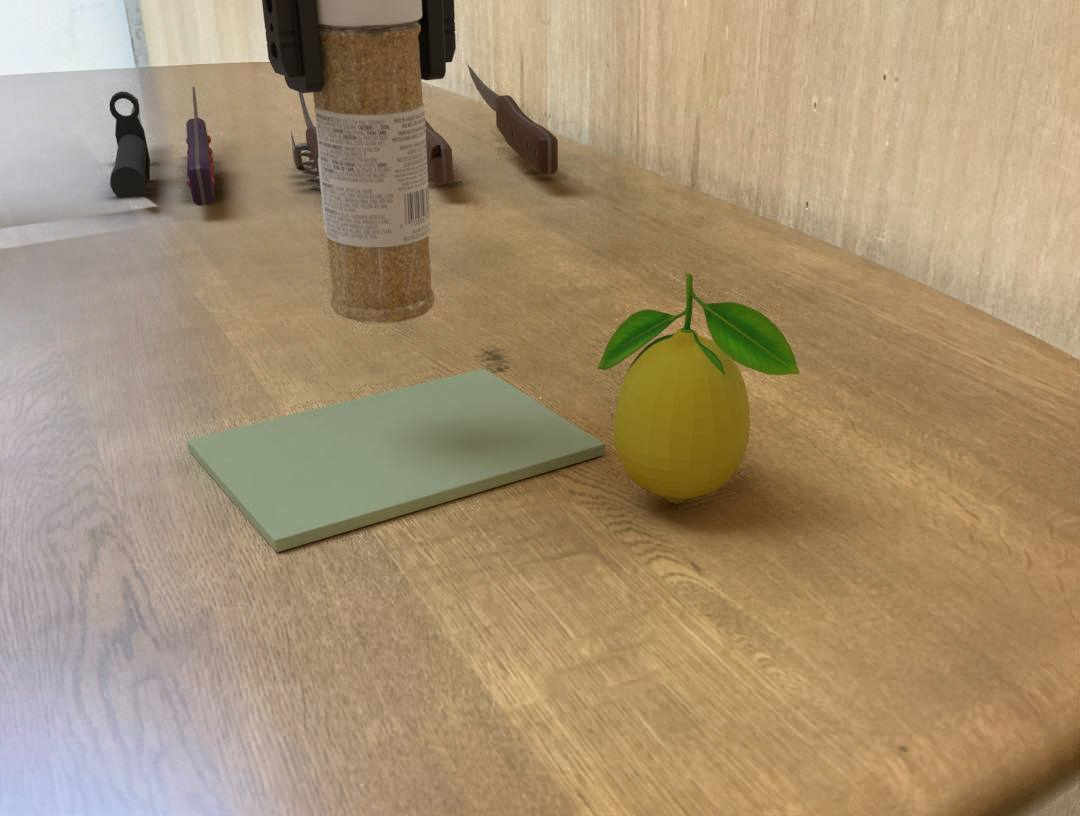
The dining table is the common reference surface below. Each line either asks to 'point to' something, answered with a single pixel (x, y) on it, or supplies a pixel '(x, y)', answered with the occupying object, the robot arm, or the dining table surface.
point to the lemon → (690, 394)
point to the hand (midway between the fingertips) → (366, 81)
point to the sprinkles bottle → (374, 159)
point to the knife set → (314, 147)
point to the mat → (387, 455)
